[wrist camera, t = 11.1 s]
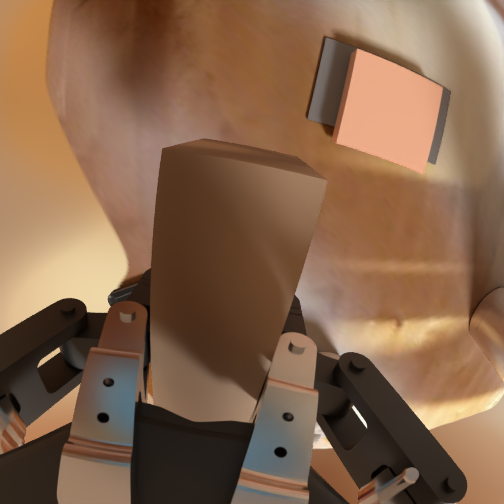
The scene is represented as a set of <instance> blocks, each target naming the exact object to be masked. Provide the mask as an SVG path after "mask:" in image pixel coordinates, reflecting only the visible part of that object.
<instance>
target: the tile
mask: <svg viewBox="0 0 504 504" xmlns="http://www.w3.org/2000/svg"><path fill="white" fill-rule="evenodd" d="M442 90H443V87H441V86H439V85H437V84H435V83H434V82H432V81H430V80H428V79H426V78H424V77H422V76H420V75H418V74H416V73H414V72H412V71H410V70H408V69H406V68H404V67H401V66H399V65H397V64H395V63H392V62H390V61H388V60H385V59H383V58H381V57H378V56H376V55H373V54H371V53H368V52H365V51H363V50H360V49H356V50H355V51H354V52H353V53H351V57H350V61H349V66H348V71H347V76H346V80H345V85H344V89H343V94H342V98H341V103H340V107H339V111H338V115H337V120H336V124H335V128H334V132H333V136H332V140H331V142H333V143H336V144H340V145H343V146H346V147H349V148H352V149H356V150H359V151H362V152H365V153H368V154H371V155H373V156H376V157H379V158H382V159H385V160H387V161H390V162H393V163H396V164H398V165H401V166H403V167H406V168H408V169H411V170H413V171H416V172H419V173H422V174H424V171H425V168H426V164H427V160H428V157H429V153H430V149H431V145H432V141H433V136H434V132H435V127H436V123H437V118H438V113H439V108H440V102H441V96H442Z"/></svg>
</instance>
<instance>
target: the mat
mask: <svg viewBox="0 0 504 504" xmlns="http://www.w3.org/2000/svg"><path fill="white" fill-rule="evenodd" d="M356 49H360V48H357V47H354V46H351V45H348V44H345V43H342V42H339V41H336V40H333V39H329V38H326V39H325V43H324V48H323V52H322V57H321V61H320V66H319V70H318V75H317V79H316V83H315V88H314V92H313V96H312V101H311V105H310V109H309V114H308V118H307V119H309V120H313V121H316V122H320V123H323V124H327V125H330V126H333V127H335V124H336V120H337V115H338V111H339V107H340V103H341V98H342V94H343V89H344V85H345V80H346V76H347V71H348V66H349V61H350V57H351V53H353V52H354V51H355V50H356ZM360 50H362V49H360ZM363 51H365V50H363ZM365 52H368V51H365ZM368 53H370V52H368ZM371 54H373V53H371ZM373 55H375V54H373ZM376 56H378V55H376ZM378 57H380V56H378ZM381 58H383V57H381ZM383 59H385V58H383ZM385 60H388V59H385ZM388 61H390V60H388ZM390 62H392V61H390ZM392 63H394V62H392ZM395 64H397V63H395ZM397 65H399V64H397ZM399 66H401V65H399ZM401 67H403V66H401ZM404 68H405V67H404ZM406 69H408V68H406ZM408 70H410V69H408ZM410 71H412V70H410ZM412 72H414V71H412ZM414 73H416V72H414ZM416 74H418V73H416ZM418 75H420V74H418ZM420 76H422V75H420ZM422 77H424V76H422ZM424 78H426V77H424ZM426 79H428V78H426ZM428 80H430V79H428ZM430 81H431V80H430ZM432 82H433V81H432ZM434 83H435V82H434ZM435 84H437V83H435ZM437 85H439V84H437ZM439 86H441V85H439ZM441 87H442V86H441ZM450 94H451V91H449V90H448V89H446V88H444V87H443V90H442V96H441V102H440V108H439V113H438V118H437V123H436V127H435V132H434V136H433V141H432V145H431V149H430V153H429V157H428V160H427V161H428V162H430V163H432V164H436V160H437V156H438V152H439V148H440V144H441V140H442V135H443V131H444V126H445V121H446V116H447V111H448V106H449V100H450Z"/></svg>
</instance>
